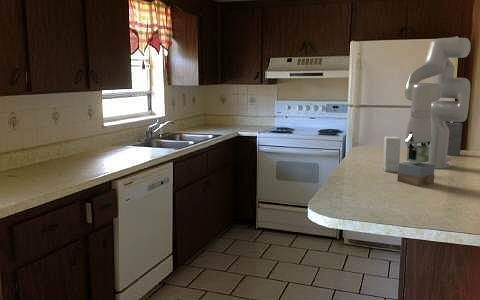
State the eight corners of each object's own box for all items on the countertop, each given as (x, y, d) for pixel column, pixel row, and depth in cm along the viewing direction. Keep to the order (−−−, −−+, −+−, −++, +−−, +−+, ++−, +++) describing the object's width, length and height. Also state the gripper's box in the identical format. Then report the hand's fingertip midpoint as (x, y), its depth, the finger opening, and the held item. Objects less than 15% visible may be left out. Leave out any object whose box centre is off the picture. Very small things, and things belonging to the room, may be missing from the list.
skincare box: (399, 172, 204) (401, 138, 202) (383, 171, 206) (385, 138, 203) (396, 168, 212) (398, 136, 210) (382, 168, 214) (383, 135, 211)
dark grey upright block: (429, 154, 251) (432, 118, 247) (430, 152, 256) (433, 117, 252) (459, 156, 244) (463, 119, 241) (459, 154, 249) (462, 118, 246)
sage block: (416, 158, 189) (417, 144, 188) (428, 161, 184) (429, 146, 183) (406, 160, 186) (407, 146, 185) (418, 162, 181) (419, 148, 180)
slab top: (412, 170, 193) (413, 160, 192) (434, 174, 185) (434, 164, 184) (398, 172, 187) (398, 163, 187) (419, 177, 179) (420, 167, 179)
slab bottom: (413, 179, 193) (413, 170, 193) (433, 184, 185) (434, 174, 184) (397, 182, 188) (397, 172, 188) (417, 187, 180) (418, 177, 179)
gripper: (426, 113, 189) (423, 155, 193) (398, 115, 181) (395, 159, 184) (442, 114, 183) (438, 158, 186) (414, 116, 174) (411, 162, 178)
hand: (417, 158), depth 185 cm, fingers closed on sage block, 6 cm apart
